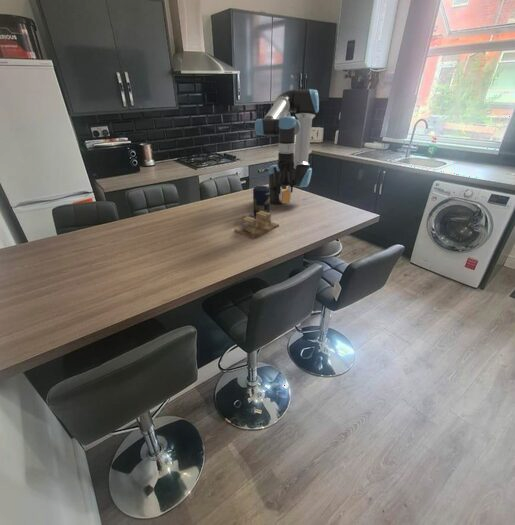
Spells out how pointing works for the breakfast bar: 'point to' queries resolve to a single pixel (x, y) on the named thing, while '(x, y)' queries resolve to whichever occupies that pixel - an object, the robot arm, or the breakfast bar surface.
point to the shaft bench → (258, 233)
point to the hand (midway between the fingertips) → (284, 199)
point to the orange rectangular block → (285, 196)
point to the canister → (261, 199)
